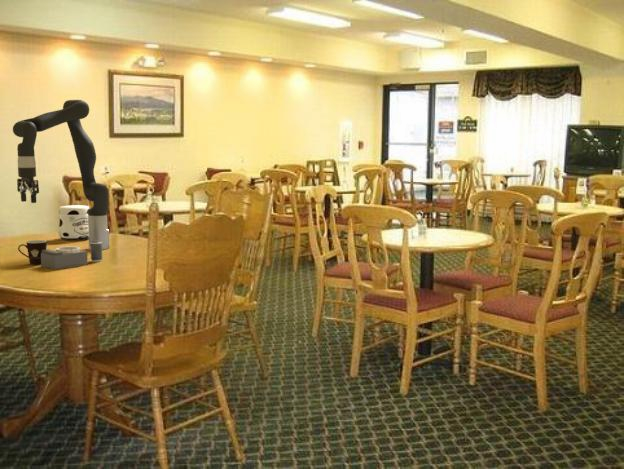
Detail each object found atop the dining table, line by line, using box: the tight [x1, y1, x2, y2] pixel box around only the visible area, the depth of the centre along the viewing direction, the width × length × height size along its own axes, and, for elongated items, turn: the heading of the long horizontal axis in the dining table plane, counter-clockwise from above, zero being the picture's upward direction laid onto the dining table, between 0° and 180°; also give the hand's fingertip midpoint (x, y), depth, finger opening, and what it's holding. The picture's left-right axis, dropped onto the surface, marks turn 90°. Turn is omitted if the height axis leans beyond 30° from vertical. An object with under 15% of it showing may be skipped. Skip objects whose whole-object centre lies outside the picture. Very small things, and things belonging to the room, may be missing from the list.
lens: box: [90, 241, 103, 263], centre depth 327 cm, size 5×5×9 cm
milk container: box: [57, 204, 90, 241], centre depth 389 cm, size 17×17×18 cm
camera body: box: [40, 246, 88, 270], centre depth 315 cm, size 16×11×8 cm
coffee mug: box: [17, 239, 48, 266], centre depth 319 cm, size 12×9×10 cm
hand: (28, 202), depth 323 cm, fingers open, 8 cm apart
